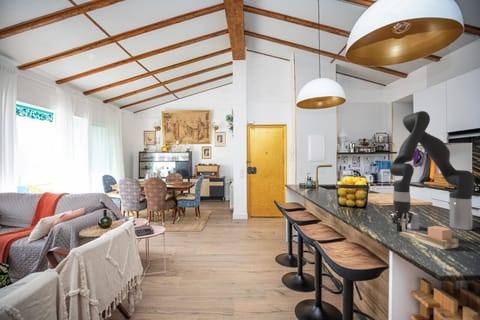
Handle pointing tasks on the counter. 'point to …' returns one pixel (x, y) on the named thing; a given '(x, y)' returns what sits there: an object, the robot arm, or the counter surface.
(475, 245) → the counter surface
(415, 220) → the medicine box
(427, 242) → the lane board
